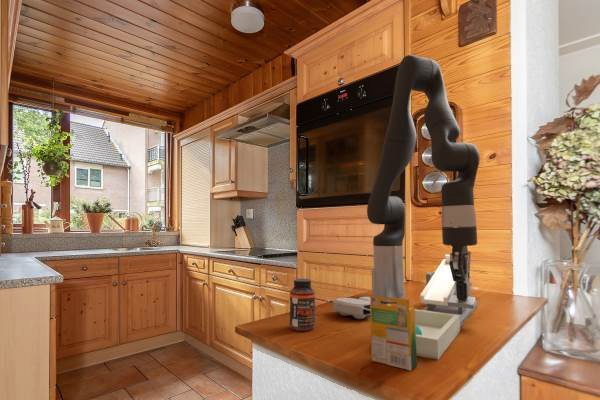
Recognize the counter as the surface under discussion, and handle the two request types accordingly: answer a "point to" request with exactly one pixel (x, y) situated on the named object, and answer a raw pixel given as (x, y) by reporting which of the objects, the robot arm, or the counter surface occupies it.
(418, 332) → the ball
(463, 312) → the stand
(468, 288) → the architectural model
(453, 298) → the trough
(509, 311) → the counter surface
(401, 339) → the crayon box
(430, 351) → the tray
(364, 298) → the robot toy
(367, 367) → the counter surface
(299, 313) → the supplement bottle
